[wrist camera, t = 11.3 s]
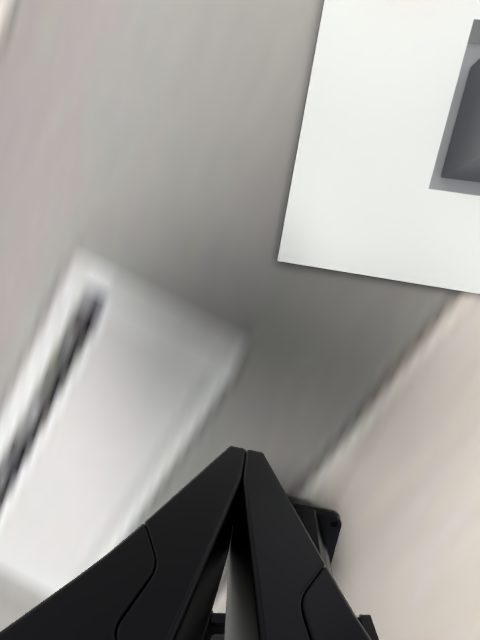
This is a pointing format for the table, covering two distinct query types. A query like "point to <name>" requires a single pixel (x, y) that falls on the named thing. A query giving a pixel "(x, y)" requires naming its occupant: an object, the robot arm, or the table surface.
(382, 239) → the socket plate
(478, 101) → the plug
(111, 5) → the table surface
